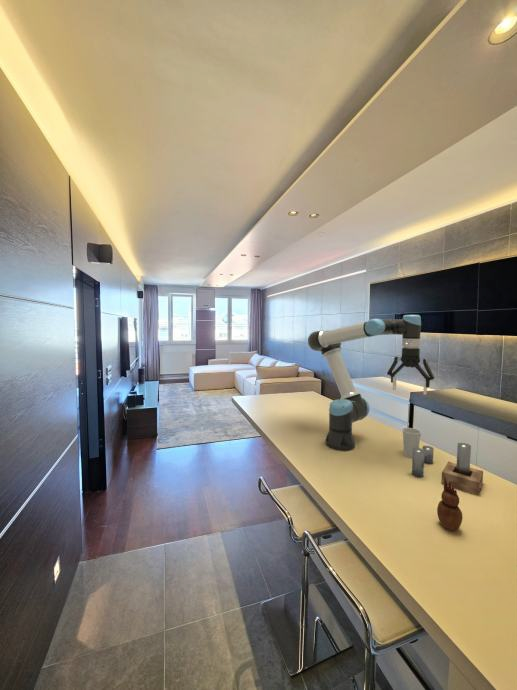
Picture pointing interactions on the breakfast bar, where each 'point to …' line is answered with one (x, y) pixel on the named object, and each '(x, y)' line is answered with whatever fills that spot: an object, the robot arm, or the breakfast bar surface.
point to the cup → (410, 440)
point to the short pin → (428, 454)
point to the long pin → (463, 459)
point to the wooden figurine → (449, 508)
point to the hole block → (463, 479)
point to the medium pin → (418, 462)
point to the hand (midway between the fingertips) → (409, 391)
